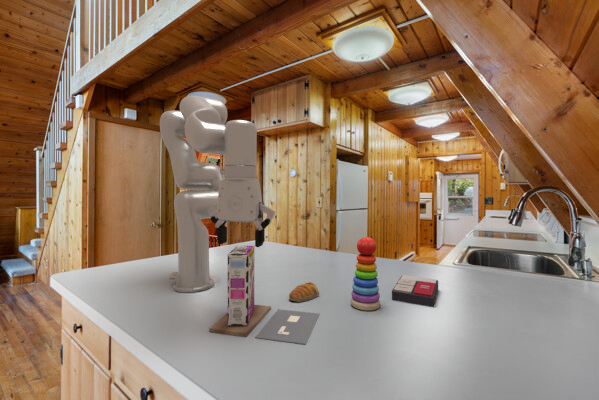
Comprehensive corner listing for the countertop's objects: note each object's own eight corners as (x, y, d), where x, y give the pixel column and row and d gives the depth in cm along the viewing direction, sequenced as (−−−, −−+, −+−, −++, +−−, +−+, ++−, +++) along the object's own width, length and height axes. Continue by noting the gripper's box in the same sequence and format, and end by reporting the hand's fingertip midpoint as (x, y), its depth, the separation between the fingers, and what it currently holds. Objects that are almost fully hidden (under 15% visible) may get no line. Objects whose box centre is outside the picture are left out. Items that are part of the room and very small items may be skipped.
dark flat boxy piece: (391, 288, 83) (401, 272, 96) (391, 303, 83) (401, 285, 96) (433, 295, 77) (438, 277, 90) (433, 310, 78) (438, 291, 90)
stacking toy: (347, 309, 77) (347, 238, 76) (353, 298, 84) (353, 234, 83) (378, 313, 74) (378, 240, 73) (381, 302, 81) (381, 235, 80)
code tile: (255, 338, 62) (255, 337, 62) (278, 310, 76) (278, 309, 76) (305, 344, 59) (305, 343, 59) (319, 314, 73) (319, 313, 73)
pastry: (301, 306, 79) (301, 292, 79) (283, 300, 84) (282, 287, 84) (320, 296, 87) (320, 283, 87) (303, 291, 91) (303, 279, 91)
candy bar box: (249, 326, 65) (248, 254, 65) (227, 327, 65) (226, 254, 65) (255, 306, 76) (255, 244, 76) (236, 307, 76) (235, 244, 76)
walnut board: (209, 331, 65) (209, 328, 64) (239, 306, 79) (239, 303, 79) (246, 336, 62) (246, 333, 62) (270, 309, 77) (270, 306, 77)
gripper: (199, 173, 68) (200, 245, 69) (269, 173, 64) (268, 250, 65) (216, 174, 75) (216, 239, 76) (279, 174, 71) (279, 244, 72)
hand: (240, 244), depth 71 cm, fingers open, 9 cm apart
